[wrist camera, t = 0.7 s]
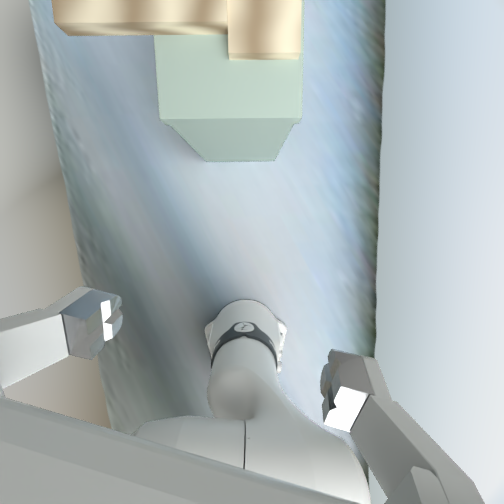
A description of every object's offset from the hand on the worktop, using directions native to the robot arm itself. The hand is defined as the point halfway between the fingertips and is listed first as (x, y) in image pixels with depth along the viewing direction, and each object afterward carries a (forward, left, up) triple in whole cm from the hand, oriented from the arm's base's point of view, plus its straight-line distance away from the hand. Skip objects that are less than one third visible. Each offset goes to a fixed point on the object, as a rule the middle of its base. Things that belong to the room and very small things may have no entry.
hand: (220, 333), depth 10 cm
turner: (+23, +5, -20) cm, 31 cm away
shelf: (+23, +1, -46) cm, 51 cm away
